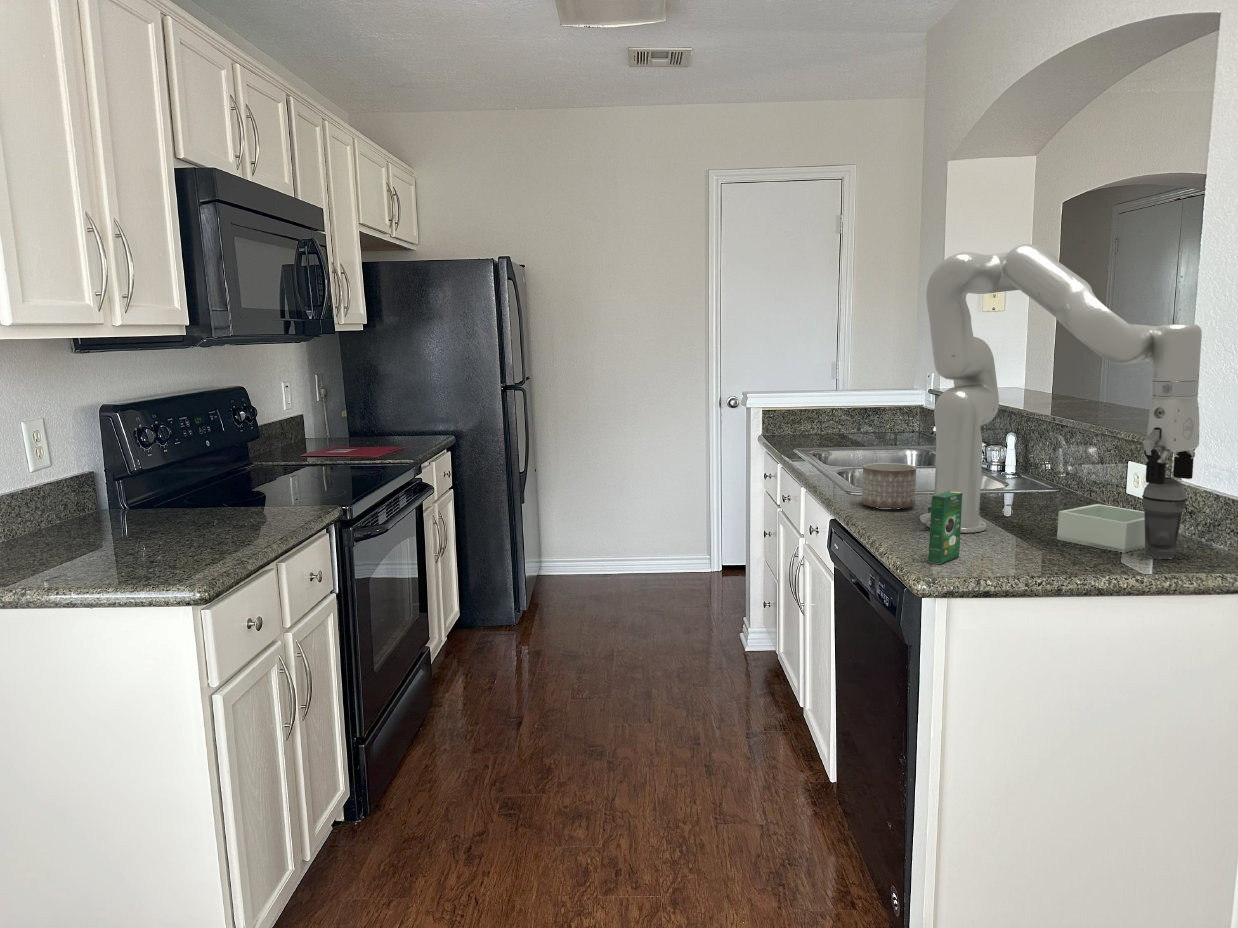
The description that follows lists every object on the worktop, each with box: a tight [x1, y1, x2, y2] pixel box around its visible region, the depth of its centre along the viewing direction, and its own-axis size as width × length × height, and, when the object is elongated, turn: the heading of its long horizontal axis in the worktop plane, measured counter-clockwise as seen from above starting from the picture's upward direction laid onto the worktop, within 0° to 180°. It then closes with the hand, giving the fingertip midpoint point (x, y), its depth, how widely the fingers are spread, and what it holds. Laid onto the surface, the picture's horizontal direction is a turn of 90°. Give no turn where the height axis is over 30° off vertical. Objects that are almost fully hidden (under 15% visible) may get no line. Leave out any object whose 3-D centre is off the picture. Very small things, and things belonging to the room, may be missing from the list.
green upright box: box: [927, 491, 962, 565], centre depth 164 cm, size 8×3×13 cm, turn 134°
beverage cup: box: [1141, 462, 1188, 559], centre depth 164 cm, size 7×7×20 cm
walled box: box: [1056, 503, 1145, 554], centre depth 177 cm, size 14×14×6 cm
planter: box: [861, 462, 917, 509], centre depth 215 cm, size 13×13×10 cm
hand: (1169, 480), depth 163 cm, fingers open, 9 cm apart
